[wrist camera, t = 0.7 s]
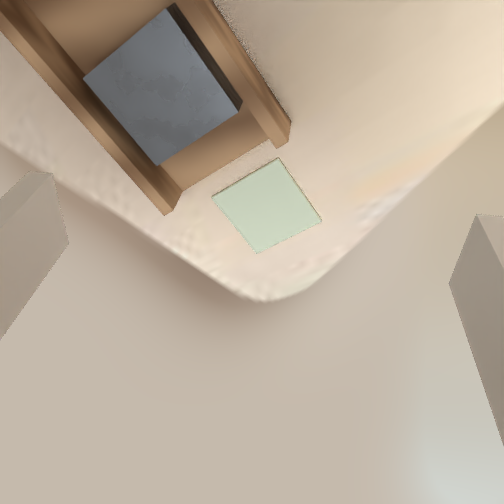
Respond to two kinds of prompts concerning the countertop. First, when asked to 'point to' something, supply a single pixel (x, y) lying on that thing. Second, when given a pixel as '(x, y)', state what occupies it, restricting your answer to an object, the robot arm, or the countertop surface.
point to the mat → (267, 206)
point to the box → (109, 40)
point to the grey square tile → (165, 86)
